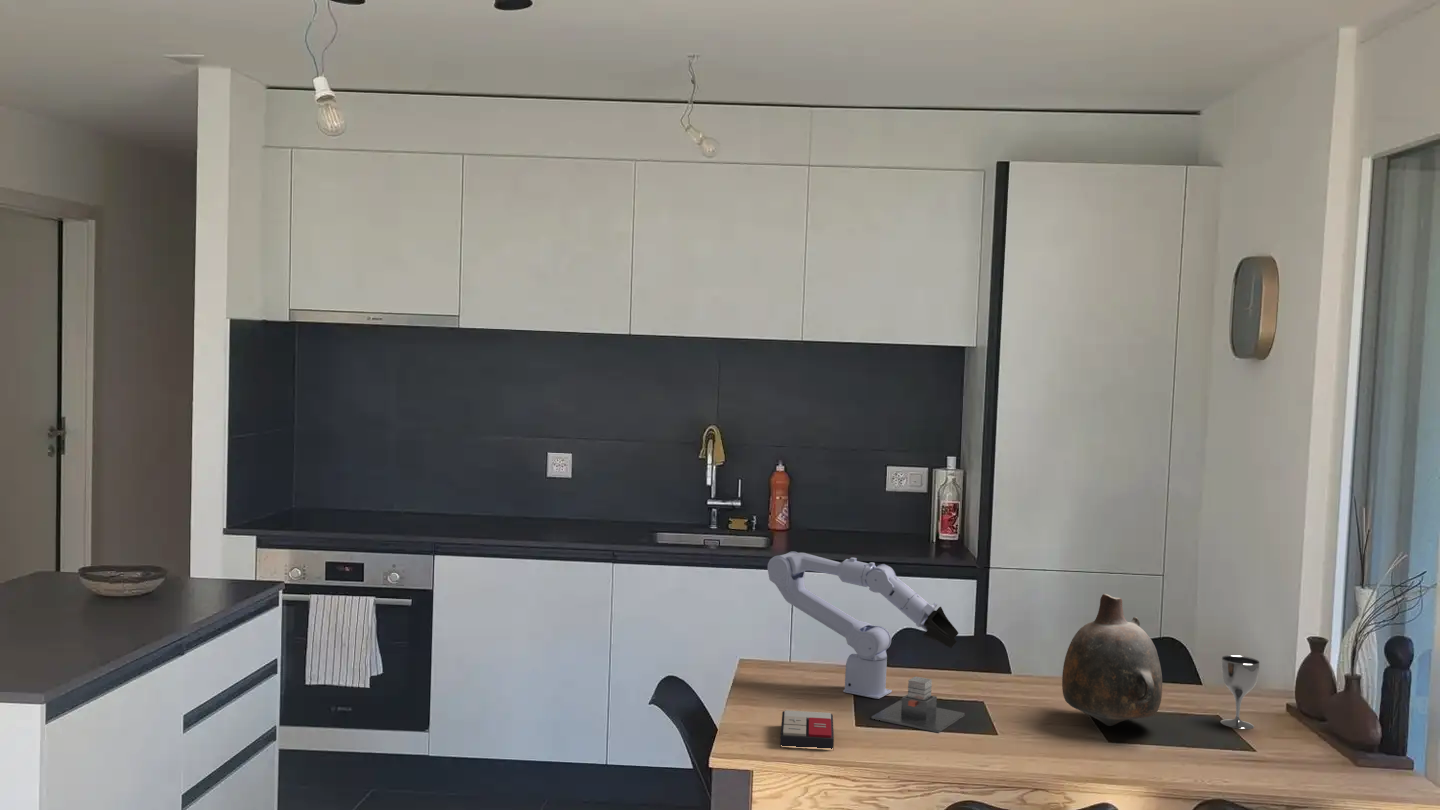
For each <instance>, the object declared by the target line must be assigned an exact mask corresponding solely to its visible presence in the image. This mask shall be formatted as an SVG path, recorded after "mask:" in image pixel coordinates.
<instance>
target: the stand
mask: <svg viewBox="0 0 1440 810" xmlns="http://www.w3.org/2000/svg"><path fill="white" fill-rule="evenodd" d="M937 700H938V697H937V696H934V695H931V698H930V699H929V700H927V701H920V700H915V699H910V698H908V694H906V695H904V696H902V697H901V699H900V700H898V701H896V702H895V703H893V704H891V705H889V706H887V707H885V708H884V709H882V710H880V711H879V712H876V713H874V714H873V715H871V720H874V719H875V720H874V721H879V720H880V722H884V723H888V724H895V725H899V726H905V727H908V728H914V729H919V730H923V731H928V732H932V733H938V734H939V733H941V732H942V731H944V730H945V729H947V728H948V727H950V726H951V725H953V724H954V723H956V722H958V721H959V720H960V719H962V718H963V717H965V716H966V714H965V712H962V711H956V710H952V709H946V708H941V707H937Z"/></svg>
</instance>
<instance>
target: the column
mask: <svg viewBox="0 0 1440 810" xmlns="http://www.w3.org/2000/svg"><path fill="white" fill-rule="evenodd" d="M932 680H933V679H932V678H927V677H921V676H914V677H912V678H910V679H908V683H907V695H908V698H910V699H915V700H920V701H927V700H929V699H930V698H931V696H932V686H933V681H932Z"/></svg>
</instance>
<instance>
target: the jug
mask: <svg viewBox="0 0 1440 810" xmlns="http://www.w3.org/2000/svg"><path fill="white" fill-rule="evenodd" d="M1124 614H1125V613H1124V610H1123V599H1122V598H1121V597H1114V596H1111V595H1110V594H1107V593H1103V594H1102V595H1101V597H1100V600H1099V607H1098V611H1097V615H1096V617H1095V619H1094V620H1092V621H1090V622H1087V623H1085V624H1084V625H1083V626H1081V628H1079V629H1078V630H1077V631H1076V633H1075V634H1074V636H1073V637H1072V639H1071V641H1070V643H1069V645H1068V648H1067V650H1066V653H1065V657H1064V662H1063V666H1062V667H1063V668H1062V675H1061V676H1062V677H1061V680H1062V681H1061V682H1062V683H1061V687H1062V689H1061V690H1062V694H1063V695H1062V696H1063V698H1064V700H1065V702H1066V703H1067V704H1068V705H1069V706H1070V707H1072V708H1074V709H1075V710H1077V711H1080V712H1082V713H1084V714H1086V715H1087V716H1088V715H1089V716H1090V717H1092V718H1094V719H1097V720H1098V721H1099V722H1101V723H1102V724H1104V725H1106V726H1108V727H1111V726H1115V725H1117V724H1119V723H1121V722H1124V721H1128V720H1136V719H1145V718H1149V717H1153V716H1154V715H1156V714H1157V712H1158V710H1159V709H1160V707H1161V703H1162V698H1163V697H1162V696H1163V675H1162V667H1161V662H1160V659H1159V658H1160V657H1159V655H1158V651H1157V648H1156V646H1155V645H1156V644H1154V642H1153V640H1152V638H1151V637H1150V636H1149V634H1147V632H1146V631H1145V630H1144V629H1143V628H1142V627H1140V626H1141V623H1140V620H1139V618H1138V617H1137V616H1135V617H1133V618H1132V620H1131V621H1128V620H1126V618H1125V615H1124Z"/></svg>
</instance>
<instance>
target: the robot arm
mask: <svg viewBox="0 0 1440 810" xmlns="http://www.w3.org/2000/svg"><path fill="white" fill-rule="evenodd" d="M857 559H858V558H857V557H850V558H849V559H848V558H846V559H845V560H843V561H841V562H839V561H836V560H832V559H829V558H825V557H821V556H817V555H814V554H811V553H808V552H807V553H806V552H797V551H789V552H787V553H785V554H780V555H775V556H773V557H771V558H770V559H769V561H768V563H767V573H768V577H769V581H770V582H772V583H773V584H774V585H775V586H776V588H777V590H778V591H779V592H780V594H781V596H782V597H783V599H784V600H785V601H786V602H787V603H789V604H790V605H792V606H793V607H795V608H796V609H798V610H799V611H801V612H803V613H804V614H806V615H808V616H809V617H811V618H813V619H814V620H816V621H817V622H819V623H821V624H822V625H824V626H826V627H827V628H829V629H830V630H832V631H834V632H835V633H837V634H838V635H840V636H842V637H843V638H845V641H846V644H847V645H848V646H849V647H851V648H852V649H853V650H854V652H855V653H851V654H849V656H848V657H847V659H846V663H845V671H844V672H845V673H844V676H845V677H844V689H843V693H847V694H852V695H856V696H861V697H866V698H872V699H876V700H878V699H879V700H880V699H881V698H883V697H885V696H887V695H889V694H890V693H892V690H893V689H888V688H886V684H887V683H886V682H887V662H888V661H887V660H888V655H887V650H888V649H889V648H890V646H891V644H892V636H891V633H890V631H889V630H888V629H887V628H885V627H884V626H881V625H874V624H872V623H870V622H868V621H864V620H859V619H857V618H855V617H853V616H852V615H850V614H848V613H847V612H845V611H843V610H842V609H840V608H839V607H837V606H835V605H834V604H832V603H830V602H829V601H827V600H826V599H824V598H822V597H820V596H819V595H817V594H815V593H814V592H812V591H810V589H807V588H806V585H805V573H806V571H807V572H809V571H811V572H814V573H815V572H817V573H823V574H827V575H833V576H838V579H840V581H841V582H842V583H846V584H851V585H855V586H859V587H863V588H868V589H869V590H868V591H870V592H873V593H877V594H880V595H881V596H882V597H884V598H885V599H886V600H887V601H888V602H889V603H891V604H892V605H893V606H895V608H897V609H898V610H899V611H900V612H901V613H903V614H904V615H905V616H906V617H907V618H908V619H909V620H911V621H912V622H913V623H914V624H915V626H916V627H918V628H922V629H923V630H924V631H925V632H924V633H923V637H924V638H927V639H931V640H934V641H937V642H938V643H939V644H941V645H944V646H945V647H947V648H949V649H952V648H954V646H955V644H957V640H956V637H957V636H958V635H959V632H958V630H957V629H956V627H955V626H954V625H953V623H952V622H951V621H950V620H949V619H948V617H947V616H946V613H944V610H943V608H942V606H939V607H938V603H937V602H936V601H935V602H933V604H930V603H929V602H928V601H927V600H926V599H924V598H923V597H922V596H921V595H919V593H918V592H916V591H915V590H913V589H912V588H911V587H910V586H909V585H908V584H906V583H905V582H904V581H903V580H901V579H900V578H899V577H898V576H897V574H896V572H895V570H894V569H893V568H892V567H891V566H889V565H887V564H885V563H882V564H879V565H877V566H876V563H875V562H869V563H867V562H863V561H859V560H857ZM937 607H938V608H937ZM936 608H937V609H936Z"/></svg>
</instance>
